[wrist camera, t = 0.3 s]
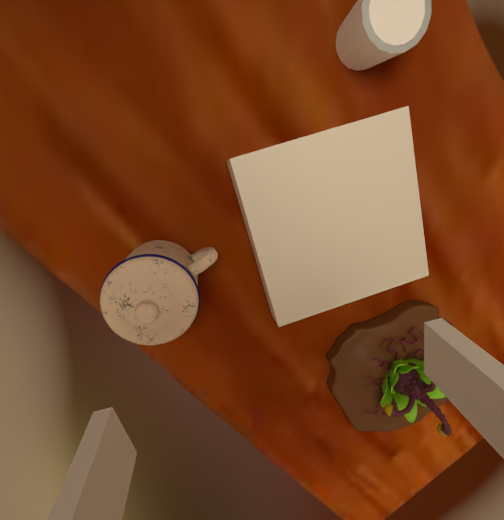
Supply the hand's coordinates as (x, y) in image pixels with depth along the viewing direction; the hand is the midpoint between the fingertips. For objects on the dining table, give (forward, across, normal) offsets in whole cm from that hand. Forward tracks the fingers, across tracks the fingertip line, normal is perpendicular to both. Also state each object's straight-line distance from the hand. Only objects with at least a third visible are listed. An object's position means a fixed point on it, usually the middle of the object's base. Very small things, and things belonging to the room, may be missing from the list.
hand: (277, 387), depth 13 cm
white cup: (+29, +19, +16) cm, 38 cm away
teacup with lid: (+26, -8, -3) cm, 27 cm away
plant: (+25, +18, -27) cm, 41 cm away
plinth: (+27, +12, -2) cm, 29 cm away
